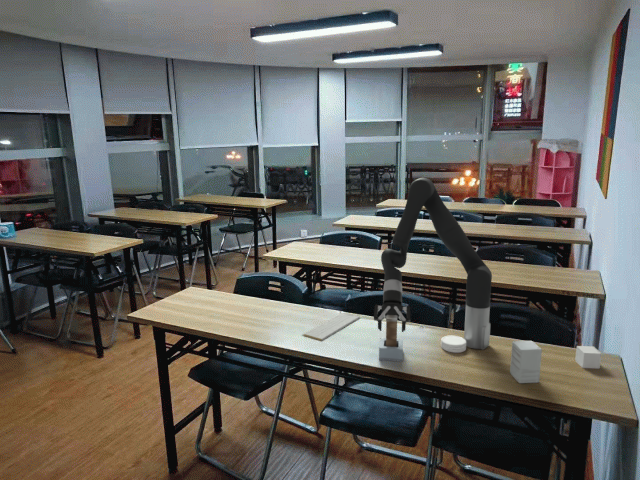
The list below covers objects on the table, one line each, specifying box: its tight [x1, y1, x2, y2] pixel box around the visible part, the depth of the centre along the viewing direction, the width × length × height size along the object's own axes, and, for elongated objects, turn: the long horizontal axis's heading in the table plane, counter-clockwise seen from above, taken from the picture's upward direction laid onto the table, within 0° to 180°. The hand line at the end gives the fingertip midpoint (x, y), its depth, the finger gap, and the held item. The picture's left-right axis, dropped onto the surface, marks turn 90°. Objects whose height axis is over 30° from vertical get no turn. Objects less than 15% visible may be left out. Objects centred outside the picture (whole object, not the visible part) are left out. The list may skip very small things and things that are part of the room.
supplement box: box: [509, 340, 543, 384], centre depth 161 cm, size 7×7×13 cm
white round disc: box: [440, 334, 467, 354], centre depth 187 cm, size 10×10×4 cm
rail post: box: [385, 315, 399, 347], centre depth 180 cm, size 4×4×15 cm
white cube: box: [574, 345, 602, 369], centre depth 171 cm, size 6×6×6 cm
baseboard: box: [302, 310, 360, 342], centre depth 211 cm, size 31×3×12 cm
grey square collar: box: [378, 337, 404, 362], centre depth 181 cm, size 9×9×5 cm
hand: (391, 330), depth 178 cm, fingers open, 8 cm apart
